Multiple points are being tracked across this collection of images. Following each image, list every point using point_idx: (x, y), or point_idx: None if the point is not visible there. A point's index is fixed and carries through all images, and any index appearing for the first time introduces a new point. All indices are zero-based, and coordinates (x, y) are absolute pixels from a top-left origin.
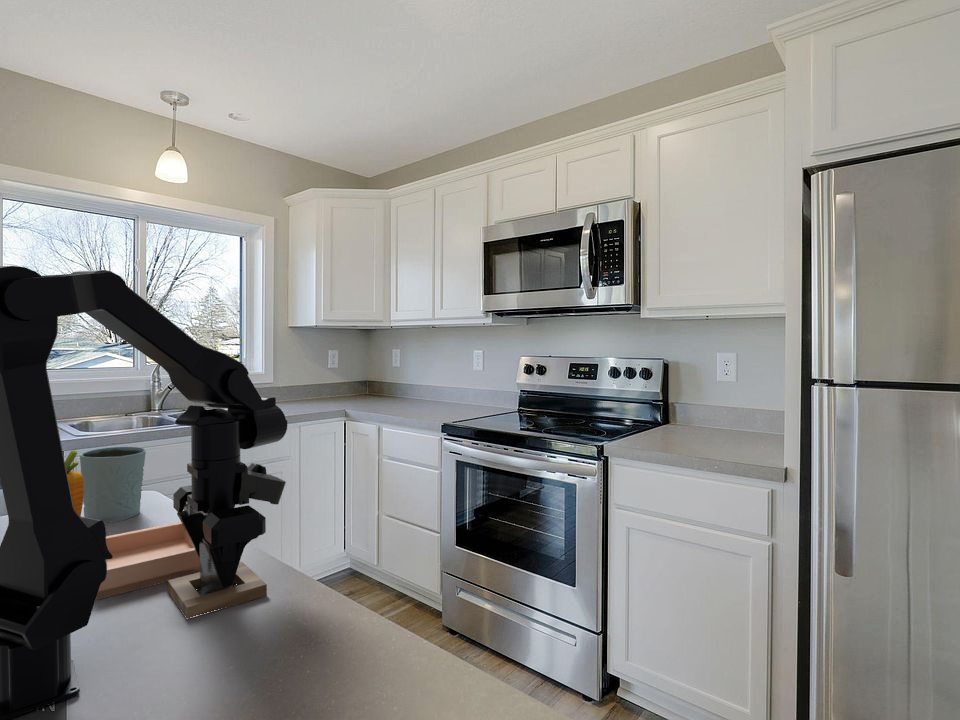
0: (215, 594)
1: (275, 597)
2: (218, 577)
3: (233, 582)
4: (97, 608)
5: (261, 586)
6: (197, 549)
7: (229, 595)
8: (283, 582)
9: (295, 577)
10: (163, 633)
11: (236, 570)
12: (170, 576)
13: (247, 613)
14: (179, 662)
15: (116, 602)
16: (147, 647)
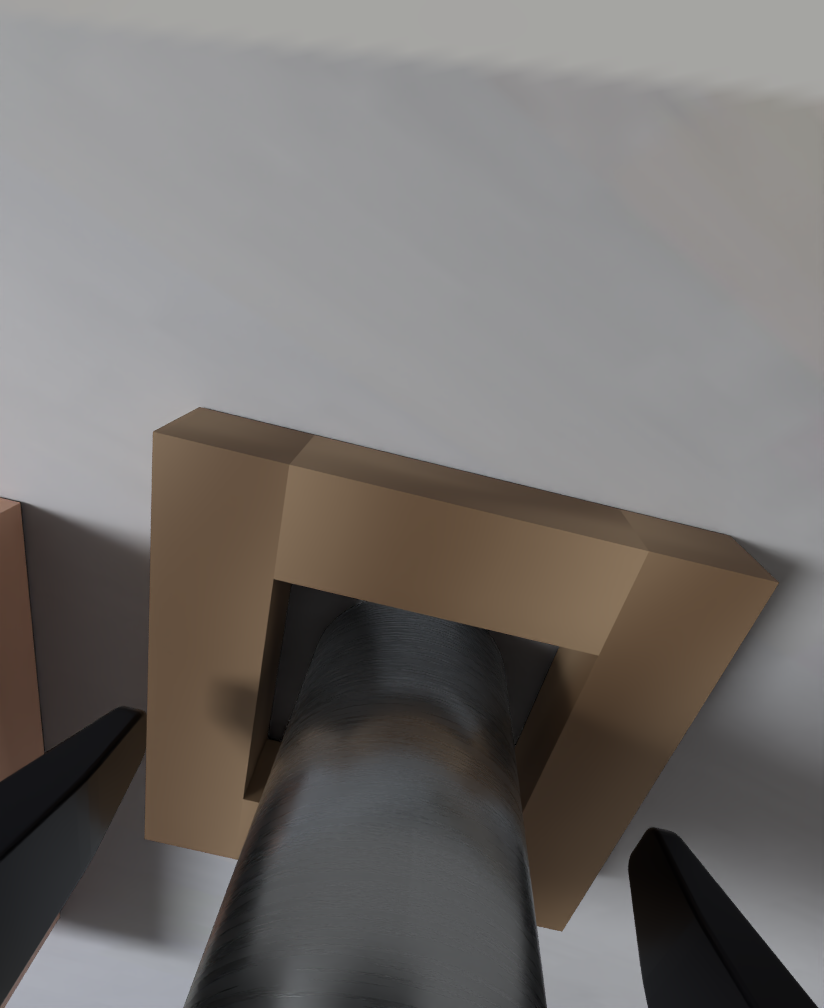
0: (563, 819)
1: (813, 515)
2: (647, 976)
3: (480, 668)
4: (146, 938)
5: (752, 613)
6: (40, 935)
7: (647, 783)
8: (676, 313)
9: (705, 159)
10: (568, 932)
11: (789, 977)
12: (21, 738)
13: (790, 714)
14: (821, 989)
15: (137, 898)
16: (612, 984)
